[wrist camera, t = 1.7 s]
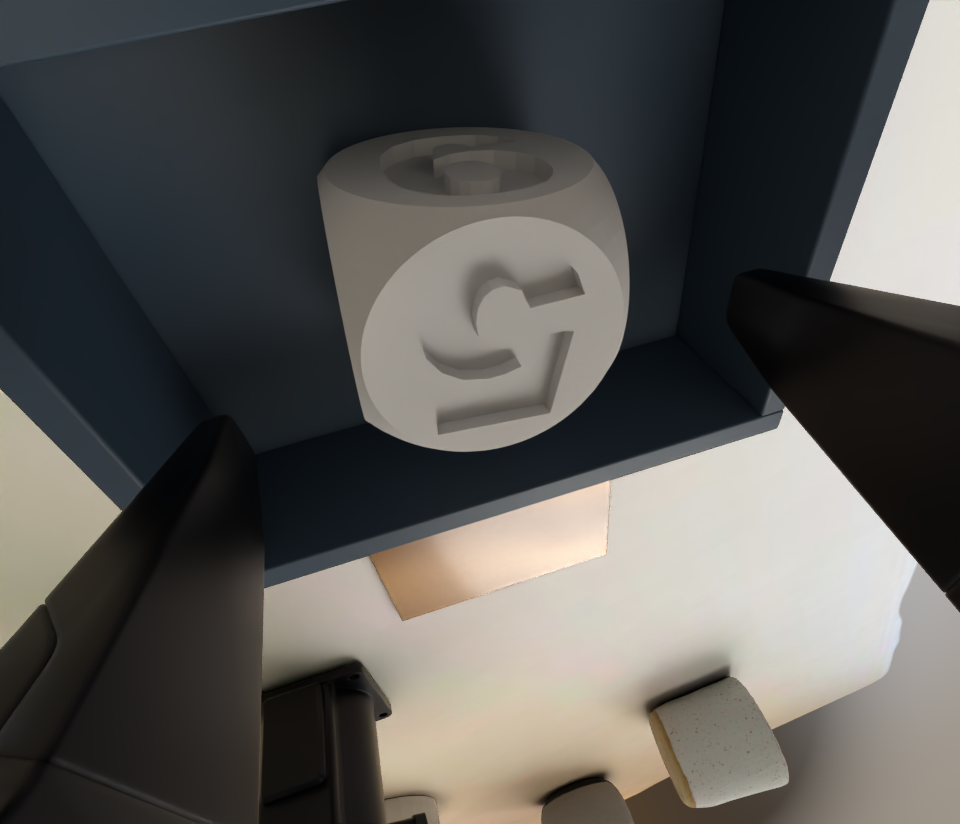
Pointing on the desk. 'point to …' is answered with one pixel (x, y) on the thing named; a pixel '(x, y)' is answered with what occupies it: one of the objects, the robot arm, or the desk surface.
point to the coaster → (496, 552)
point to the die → (474, 281)
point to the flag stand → (411, 808)
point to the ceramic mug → (718, 745)
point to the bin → (304, 248)
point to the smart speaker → (587, 804)
